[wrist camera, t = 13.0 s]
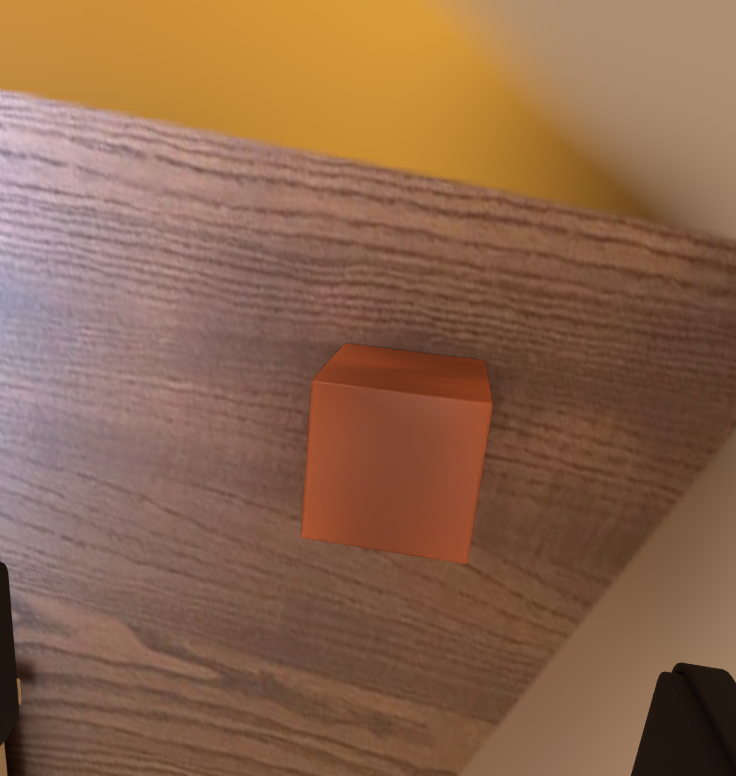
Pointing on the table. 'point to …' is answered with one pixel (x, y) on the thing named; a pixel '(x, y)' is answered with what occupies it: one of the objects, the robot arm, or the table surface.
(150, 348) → the table surface
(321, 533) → the block
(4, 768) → the drawer
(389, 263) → the table surface
